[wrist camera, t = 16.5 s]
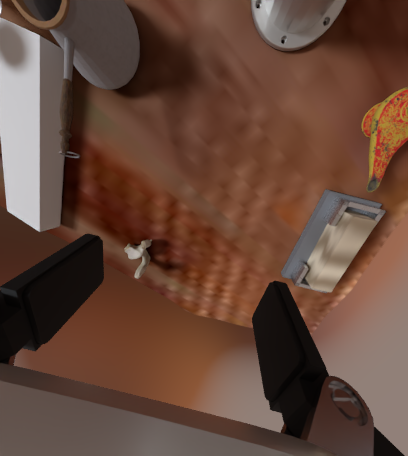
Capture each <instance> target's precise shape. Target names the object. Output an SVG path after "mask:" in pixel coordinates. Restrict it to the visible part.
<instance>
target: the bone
mask: <svg viewBox="0 0 408 456" xmlns="http://www.w3.org/2000/svg"><path fill="white" fill-rule="evenodd" d="M151 242H152V240H150V241H149V240H143V241H142V244H141V245H139V246H135V245H130V244H128V245H127V247H125V248H124V249H126V250H125V252H126V253H128V257H129V259H137V258H140V257H141V256H142V258H143V260H142V263H141V265H140V266H139V267H138V269H137V270H136V273H135V278H137V279H138V278H140V277H141V276H142V274H143V273H144V272H145V270H146V267H147V266H148V265H149V262H150V256H149V254H148V252H147V251H146V248H147V247H149V246H150V245H151Z"/></svg>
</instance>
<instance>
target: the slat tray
mask: <svg viewBox="0 0 408 456" xmlns="http://www.w3.org/2000/svg"><path fill="white" fill-rule="evenodd" d="M335 196H336V197H340V198H344V199H348V200H351V201H355V202H359V203H363V204H367V205H371V206H374V207H377V208H380V207H381V205H382V204H380V203H377V202H374V201H370V200H366V199H362V198H358V197H354V196H350V195H346V194H342V193H339V192H335V191H331V190H327V189H326V190H325V192H324V193H323V195H322V197H321V199H320V201H319V203H318V205H317V206H316V208H315V210H314V212H313V214H312V216H311V218H310V220H309V221H308V223H307V225H306V227H305V229H304V231H303V233H302V234H301V236H300V238H299V240H298V242H297V244H296V246H295V248H294V249H293V251H292V253H291V255H290V257H289V259H288V261H287V262H286V264H285V266H284V268H283V270H282V272H281V274H282V276H283V277H285V278H289V279H291V277H290V275H291V273H292V272H293V270H294V268H295V266H296V264H297V263H298V261H299V260H302V261H303V262H304V263H305V265H306V263H307V261H308V259H309V258H310V256H311V254H312V252H313V250H314V248H315V246H316V244H317V242H318V241H319V239H320V237H321V235H322V233H323V231H324V229H325V227H326V225H327V224H328V223H326V222H325V221H324V220H322V219H323V217H324V215H325V214H326V212H327V210H328V208H329V207H330V205H331V203H332V201H333V200H334V198H335ZM346 210H351V211H356V212H359V213H361V214H363V212H364V210H361V209H357V208H353V207H349V206H347V208H346Z"/></svg>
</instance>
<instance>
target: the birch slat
mask: <svg viewBox="0 0 408 456" xmlns="http://www.w3.org/2000/svg"><path fill="white" fill-rule="evenodd" d="M377 222H378V221H376V220H374V219H372V218H369V217H367V216H365V215H363V214H361V213H359V212H356V211H351V210H346V209H345V211H344V213H343V214H342V216H341V217H340V219H339V221H338V222H337V224H336V226H331V225H329V224H327V225H326V227H325V229H324V231H323V233H322V235H321V237H320V239H319V241H318V242H317V244H316V246H315V248H314V250H313V252H312V254H311V256H310V258H309V259H308V261H307V263H306V266H307V267H308V271H307V273H306V274H305V276H304V277H305V279H306V280H307V282H308V283H309V285H310V287H311V288H312V289H317V290H322V291H327V292H332V290H333V289H334V287H335V286H336V284H337V283H338V281H339V280H340V278H341V277H342V275H343V274H344V272H345V270H346V269H347V267H348V266H349V264H350V263H351V261H352V260H353V258H354V257H355V255H356V254H357V252H358V251H359V249H360V248H361V246H362V245H363V243H364V242H365V240H366V239H367V237H368V236H369V234H370V233H371V231H372V230H373V228H374V227H375V225H376V224H377Z"/></svg>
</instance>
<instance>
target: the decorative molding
mask: <svg viewBox="0 0 408 456" xmlns="http://www.w3.org/2000/svg"><path fill="white" fill-rule="evenodd" d="M63 79H64V50H63V49H62V48H60V47H58V46H57V45H55V44H53V43H52V42H50V41H48V40H46V39H45V38H43V37H41V36H40V35H38V34H35V33H33V32H31V31H29V30H27V29H25V28H22V27H20V26H18V25H16V24H14V23H11V22H9V21H7V20H5V19H3V18H1V17H0V136H1V145H2V158H3V169H4V180H5V192H6V203H7V211H8V212H10V213H11V214H13V215H14V216H16V217H18V218H19V219H21V220H22V221H24V222H25V223H27V224H28V225H30V226H32V227H33V228H34V229H36V230H37V231H39V232H41V231H45V230H48V229H52V228H55V227H59V226H60V220H61V208H62V188H63V168H64V159H65V156H63V155H61V154H59V152H60V151H61V147H60V142H61V141H62V140H61V139H62V137H61V135H60V134H59V131H60V130H61V129H62V128H61V119H60V113H59V111H60V103H61V94H62V85H63ZM62 154H63V153H62Z"/></svg>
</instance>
